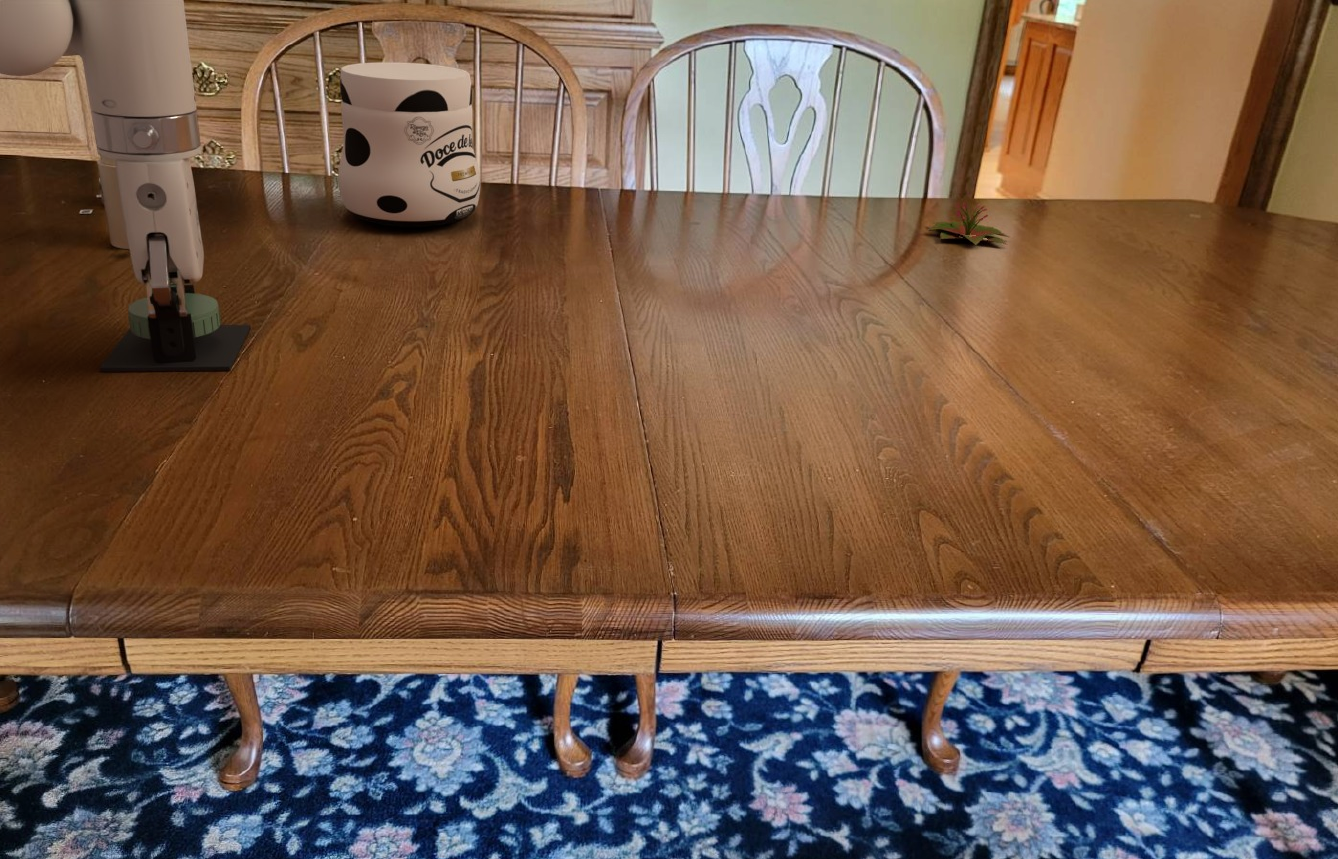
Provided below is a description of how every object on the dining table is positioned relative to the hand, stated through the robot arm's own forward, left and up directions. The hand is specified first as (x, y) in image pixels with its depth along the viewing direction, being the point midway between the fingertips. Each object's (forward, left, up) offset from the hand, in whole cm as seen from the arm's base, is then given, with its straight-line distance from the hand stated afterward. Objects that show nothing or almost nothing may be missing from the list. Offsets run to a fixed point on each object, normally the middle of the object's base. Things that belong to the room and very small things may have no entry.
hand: (177, 342), depth 91 cm
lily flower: (+92, +40, -1) cm, 100 cm away
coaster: (0, 0, -1) cm, 1 cm away
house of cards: (-19, +50, -1) cm, 54 cm away
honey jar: (-11, +33, -1) cm, 35 cm away
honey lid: (0, 0, +3) cm, 3 cm away
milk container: (+18, +45, -1) cm, 49 cm away
